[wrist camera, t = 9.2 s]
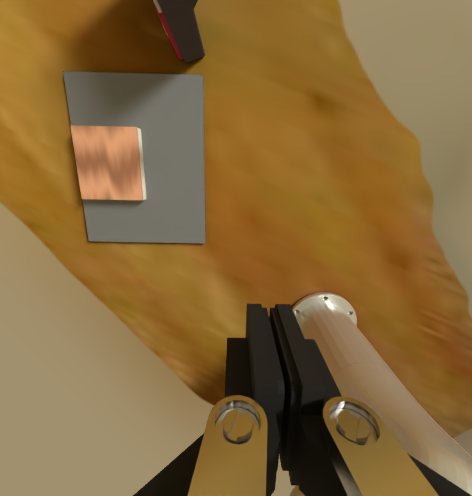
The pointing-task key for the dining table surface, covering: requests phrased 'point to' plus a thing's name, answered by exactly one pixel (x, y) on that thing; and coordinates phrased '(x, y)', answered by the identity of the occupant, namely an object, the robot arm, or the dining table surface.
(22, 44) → the dining table surface
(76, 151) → the tile
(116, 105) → the mat
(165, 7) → the grey and red box
